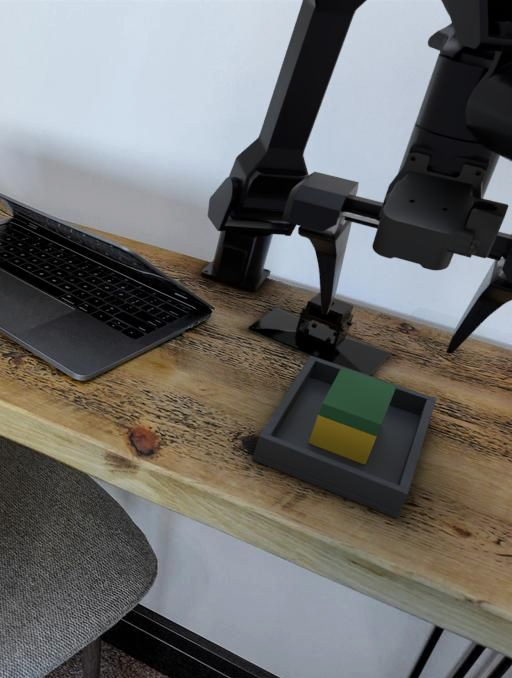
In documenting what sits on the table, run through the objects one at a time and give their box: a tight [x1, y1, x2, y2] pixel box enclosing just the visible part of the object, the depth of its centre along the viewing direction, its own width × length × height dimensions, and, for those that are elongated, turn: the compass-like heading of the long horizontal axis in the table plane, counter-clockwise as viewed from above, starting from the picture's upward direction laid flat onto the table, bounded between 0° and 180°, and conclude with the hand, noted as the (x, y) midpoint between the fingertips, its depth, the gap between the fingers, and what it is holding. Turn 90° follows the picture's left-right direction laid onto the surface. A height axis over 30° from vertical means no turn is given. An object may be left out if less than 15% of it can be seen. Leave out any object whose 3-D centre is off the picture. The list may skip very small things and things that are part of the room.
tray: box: [251, 356, 437, 519], centre depth 68 cm, size 16×11×2 cm
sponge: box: [309, 368, 396, 465], centre depth 67 cm, size 7×4×4 cm, turn 148°
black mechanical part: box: [247, 292, 392, 376], centre depth 82 cm, size 12×7×5 cm, turn 49°
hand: (385, 331), depth 63 cm, fingers open, 9 cm apart
